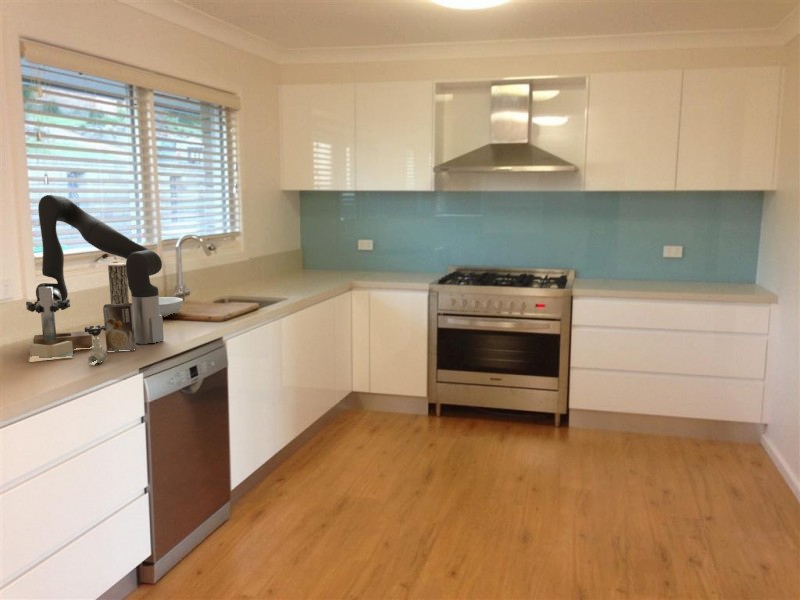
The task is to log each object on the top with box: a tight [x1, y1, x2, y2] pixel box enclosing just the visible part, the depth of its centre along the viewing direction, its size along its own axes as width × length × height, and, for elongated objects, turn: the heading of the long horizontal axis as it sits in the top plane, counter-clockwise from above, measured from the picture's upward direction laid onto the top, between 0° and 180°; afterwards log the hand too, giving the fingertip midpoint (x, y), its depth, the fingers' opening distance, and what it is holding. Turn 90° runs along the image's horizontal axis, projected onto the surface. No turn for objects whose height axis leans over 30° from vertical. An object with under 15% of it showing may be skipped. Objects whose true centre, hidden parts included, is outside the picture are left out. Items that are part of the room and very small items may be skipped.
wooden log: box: [107, 262, 130, 304], centre depth 277 cm, size 7×7×25 cm
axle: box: [39, 286, 57, 342], centre depth 227 cm, size 4×4×18 cm
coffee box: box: [102, 302, 137, 352], centre depth 236 cm, size 9×6×16 cm
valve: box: [84, 324, 108, 364], centre depth 219 cm, size 7×7×12 cm
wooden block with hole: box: [32, 330, 93, 349], centre depth 238 cm, size 18×8×5 cm, turn 114°
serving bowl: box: [159, 296, 184, 316], centre depth 296 cm, size 21×21×7 cm
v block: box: [29, 341, 75, 358], centre depth 228 cm, size 10×13×4 cm
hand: (46, 309), depth 224 cm, fingers closed on axle, 4 cm apart
